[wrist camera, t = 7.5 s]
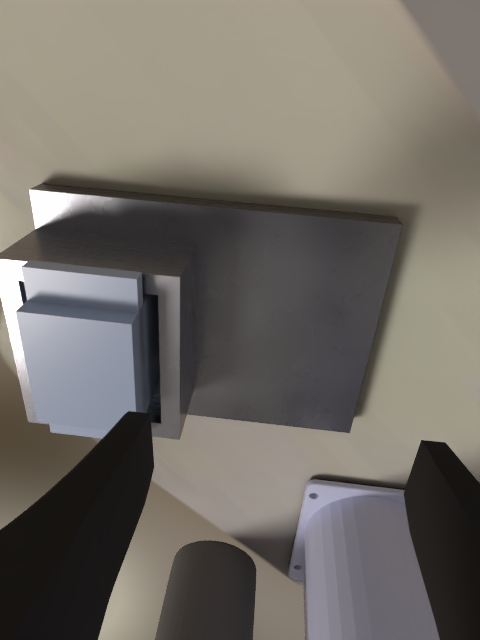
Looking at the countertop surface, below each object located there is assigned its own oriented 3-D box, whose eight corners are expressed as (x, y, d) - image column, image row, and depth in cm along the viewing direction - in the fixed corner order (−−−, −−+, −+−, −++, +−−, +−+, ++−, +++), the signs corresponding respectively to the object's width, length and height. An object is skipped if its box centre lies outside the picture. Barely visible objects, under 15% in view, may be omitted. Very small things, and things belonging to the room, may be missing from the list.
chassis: (347, 419, 24) (358, 486, 20) (71, 388, 25) (31, 447, 21) (397, 217, 19) (425, 257, 15) (40, 183, 19) (-20, 214, 16)
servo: (166, 387, 23) (138, 463, 19) (88, 378, 23) (42, 451, 19) (165, 237, 19) (129, 289, 15) (71, 227, 19) (8, 276, 15)
